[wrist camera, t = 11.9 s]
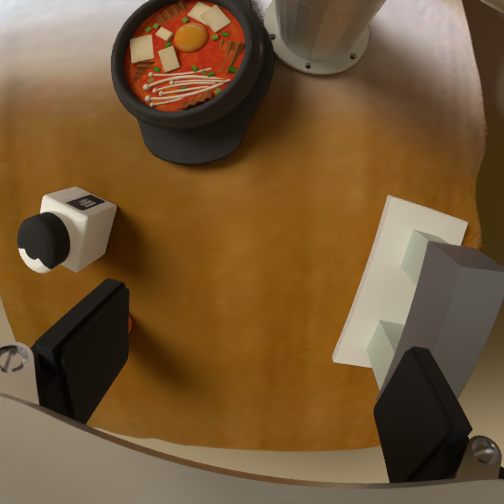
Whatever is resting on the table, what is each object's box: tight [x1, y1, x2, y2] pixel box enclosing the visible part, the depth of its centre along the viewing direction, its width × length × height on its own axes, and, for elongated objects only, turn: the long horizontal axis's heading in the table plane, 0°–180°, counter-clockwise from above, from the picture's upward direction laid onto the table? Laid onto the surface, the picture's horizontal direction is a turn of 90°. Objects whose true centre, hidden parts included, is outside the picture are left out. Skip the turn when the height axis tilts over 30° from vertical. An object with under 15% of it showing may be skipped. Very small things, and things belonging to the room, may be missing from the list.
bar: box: [377, 241, 504, 401], centre depth 27 cm, size 20×6×7 cm, turn 175°
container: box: [17, 187, 117, 273], centre depth 35 cm, size 8×8×13 cm
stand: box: [332, 195, 468, 390], centre depth 36 cm, size 24×12×10 cm, turn 168°
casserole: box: [111, 0, 274, 165], centre depth 30 cm, size 25×19×8 cm
